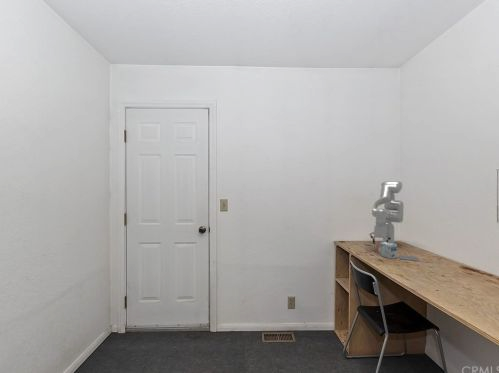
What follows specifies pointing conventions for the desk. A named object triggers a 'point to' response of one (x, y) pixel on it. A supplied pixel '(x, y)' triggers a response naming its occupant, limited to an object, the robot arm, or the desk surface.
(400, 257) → the blue-gray flat panel
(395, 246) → the light bulb box
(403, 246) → the desk surface
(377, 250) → the reddish brown cube
